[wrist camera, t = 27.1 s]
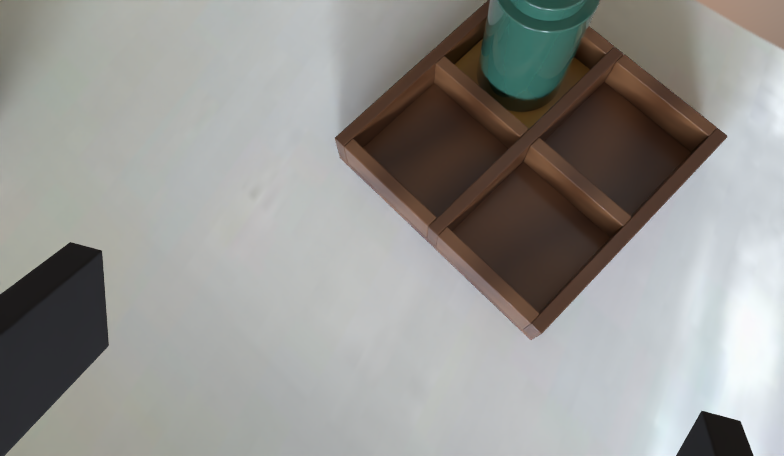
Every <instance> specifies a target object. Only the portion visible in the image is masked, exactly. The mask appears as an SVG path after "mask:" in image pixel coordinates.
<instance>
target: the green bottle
mask: <svg viewBox="0 0 784 456" xmlns="http://www.w3.org/2000/svg"><path fill="white" fill-rule="evenodd" d="M599 2H600V0H490V4H489V9H488V14H487V19H486V24H485V29H484V34H483V39H482V45H481V50H480V55H479V60H478V65H477V80H478V84H479V86H480V87H481V88H482V89H483V90H485V91H486V92H487V93H488V94H489V95H490V96H492V97H493V98H494V99H495V100H496V101H497V102H499V103H500V104H501V105H502V106H503V107H504V108H506V109H507V110H509V111H514V112H528V111H533V110H536V109H539V108H541V107H543V106H545V105H546V104H548V103H549V102H550V101H551V100H552V99H553V98H554V97H555V96H556V94H557V93H558V91H559V89H560V87H561V85H562V83H563V80H564V78H565V76H566V74H567V72H568V70H569V67H570V65H571V63H572V61H573V59H574V57H575V54H576V52H577V50H578V48H579V46H580V44H581V41H582V39H583V37H584V35H585V33H586V31H587V28H588V26H589V24H590V22H591V20H592V18H593V15H594V13H595V11H596V9H597V7H598V5H599Z"/></svg>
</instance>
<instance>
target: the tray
mask: <svg viewBox="0 0 784 456" xmlns="http://www.w3.org/2000/svg"><path fill="white" fill-rule="evenodd" d="M489 4H490V0H488V1H487V2H486V3H484V4H483V5H482V6H481V7H480V8H479V9H478V10H477V11H476V12H474V13H473V14H472V15H471V16H470V17H469V18H468V19H467V20H466V21H464V22H463V23H462V24H461V25H460V26H459V27H458V28H457V29H456V30H454V31H453V32H452V33H451V34H450V35H449V36H448V37H447V38H446V39H444V40H443V41H442V42H441V43H440V44H439V45H438V46H437V47H436V48H434V49H433V50H432V51H431V52H430V53H429V54H428V55H427V56H425V57H424V58H423V59H422V60H421V61H420V62H419V63H418V64H417V65H415V66H414V67H413V68H412V69H411V70H410V71H409V72H408V73H407V74H405V75H404V76H403V77H402V78H401V79H400V80H399V81H398V82H397V83H395V84H394V85H393V86H392V87H391V88H390V89H389V90H388V91H387V92H385V93H384V94H383V95H382V96H381V97H380V98H379V99H378V100H376V101H375V102H374V103H373V104H372V105H371V106H370V107H369V108H368V109H366V110H365V111H364V112H363V113H362V114H361V115H360V116H359V117H358V118H356V119H355V120H354V121H353V122H352V123H351V124H350V125H349V126H348V127H346V128H345V129H344V130H343V131H342V132H341V133H340V134H339V135H338V136H336V137H335V141H336V144H337V148H338V152H339V155H340V158H341V159H342V160H343V161H344V162H345V163H346V164H347V165H348V166H349V167H350V168H351V169H352V170H353V171H354V172H355V173H357V174H358V175H359V176H360V177H361V178H362V179H363V180H364V181H365V182H366V183H367V184H368V185H369V186H370V187H371V188H372V189H373V190H374V191H375V192H376V193H377V194H378V195H380V196H381V197H382V198H383V199H384V200H385V201H386V202H387V203H388V204H389V205H390V206H391V207H392V208H393V209H394V210H395V211H396V212H397V213H398V214H399V215H400V216H402V217H403V218H404V219H405V220H406V221H407V222H408V223H409V224H410V225H411V226H412V227H413V228H414V229H415V230H416V231H417V232H418V233H419V234H420V235H421V236H422V237H423V238H425V239H426V240H427V241H428V242H429V243H430V244H431V245H432V246H433V247H434V248H435V249H436V250H437V251H438V252H439V253H440V254H441V255H442V256H443V257H444V258H445V259H447V260H448V261H449V262H450V263H451V264H452V265H453V266H454V267H455V268H456V269H457V270H458V271H459V272H460V273H461V274H462V275H463V276H464V277H465V278H466V279H467V280H468V281H470V282H471V283H472V284H473V285H474V286H475V287H476V288H477V289H478V290H479V291H480V292H481V293H482V294H483V295H484V296H485V297H486V298H487V299H488V300H489V301H490V302H492V303H493V304H494V305H495V306H496V307H497V308H498V309H499V310H500V311H501V312H502V313H503V314H504V315H505V316H506V317H507V318H508V319H509V320H510V321H511V322H512V323H513V324H515V325H516V326H517V327H518V328H519V329H520V330H521V331H522V332H523V333H524V334H525V335H526V336H527V337H528V338H529V339H530V340H532V339H534V338H535V337H537V336H539V335H540V334H542V333H543V332H544V331H545V330H546V329H547V328H548V327H549V326H550V325H551V323H552V322H553V321H554V320H555V319H556V318H557V317H558V316H559V315H560V314H561V313H562V312H563V311H564V310H565V309H566V308H567V306H568V305H569V304H570V303H571V302H572V301H573V300H574V299H575V298H576V297H577V296H578V295H579V294H580V293H581V292H582V291H583V290H584V288H585V287H586V286H587V285H588V284H589V283H590V282H591V281H592V280H593V279H594V278H595V277H596V276H597V275H598V274H599V273H600V272H601V270H602V269H603V268H604V267H605V266H606V265H607V264H608V263H609V262H610V261H611V260H612V259H613V258H614V257H615V256H616V255H617V253H618V252H619V251H620V250H621V249H622V248H623V247H624V246H625V245H626V244H627V243H628V242H629V241H630V240H631V239H632V238H633V237H634V235H635V234H636V233H637V232H638V231H639V230H640V229H641V228H642V227H643V226H644V225H645V224H646V223H647V222H648V221H649V220H650V219H651V217H652V216H653V215H654V214H655V213H656V212H657V211H658V210H659V209H660V208H661V207H662V206H663V205H664V204H665V203H666V202H667V200H668V199H669V198H670V197H671V196H672V195H673V194H674V193H675V192H676V191H677V190H678V189H679V188H680V187H681V186H682V185H683V184H684V182H685V181H686V180H687V179H688V178H689V177H690V176H691V175H692V174H693V173H694V172H695V171H696V170H697V169H698V168H699V167H700V166H701V164H702V163H703V162H704V161H705V160H706V159H707V158H708V157H709V156H710V155H711V154H712V153H713V152H714V151H715V150H716V149H717V147H718V146H719V145H720V144H721V143H722V142H723V141H724V140H725V139H726V138H727V135H726V134H725V133H723V132H722V131H721V130H719V129H718V128H717V127H716V126H714V125H713V124H712V123H711V122H709V121H708V120H707V119H706V118H704V117H703V116H702V115H701V114H699V113H698V112H697V111H696V110H694V109H693V108H692V107H690V106H689V105H688V104H687V103H685V102H684V101H683V100H682V99H680V98H679V97H678V96H677V95H675V94H674V93H673V92H671V91H670V90H669V89H668V88H666V87H665V86H664V85H663V84H661V83H660V82H659V81H658V80H656V79H655V78H654V77H653V76H651V75H650V74H649V73H647V72H646V71H645V70H644V69H642V68H641V67H640V66H639V65H637V64H636V63H635V62H634V61H632V60H631V59H630V58H628V57H627V56H626V55H623V53H622V52H621V51H619V50H618V49H617V48H615V47H614V46H613V45H612V44H611V43H610V42H608V41H607V40H606V39H605V38H603V37H602V36H601V35H600V34H598V33H597V32H596V31H594V30H593V29H592V28H591V27H589V26H588V28H587V31H586V33H585V35H584V37H583V39H582V41H581V44H580V46H579V48H578V50H577V52H576V54H575V57H574V59H573V61H572V63H571V65H570V67H569V70H568V72H567V74H566V76H565V78H564V80H563V83H562V85H561V87H560V89H559V91H558V93H557V94H556V96H555V97H554V98H553V99H552V100H551V101H550V102H549V103H548V104H546V105H545V106H543V107H541V108H539V109H536V110H533V111H528V112H514V111H509V110H507V109H506V108H504V107H503V106H502V105H501V104H500V103H499V102H497V101H496V100H495V99H494V98H493V97H492V96H490V95H489V94H488V93H487V92H486V91H485V90H483V89H482V88H481V87H480V86H479V84H478V80H477V65H478V60H479V55H480V50H481V45H482V39H483V34H484V29H485V24H486V19H487V14H488V9H489Z"/></svg>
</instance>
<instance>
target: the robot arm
mask: <svg viewBox="0 0 784 456" xmlns="http://www.w3.org/2000/svg"><path fill="white" fill-rule="evenodd" d="M108 346H109V343H108V329H107V315H106V301H105V286H104V272H103V258H102V251H101V250H97V249H94V248H90V247H86V246H82V245H79V244H75V243H71V242H70V243H69V244H67V245H66V246H65V247H63V248H62V249H61V250H59V251H58V252H57V253H55V254H54V255H53V256H51V257H50V258H49V259H47V260H46V261H45V262H43V263H42V264H41V265H39V266H38V267H36V268H35V269H34V270H32V271H31V272H30V273H28V274H27V275H26V276H24V277H23V278H22V279H20V280H19V281H18V282H16V283H15V284H14V285H12V286H11V287H10V288H8V289H7V290H6V291H4V292H3V293H2V294H0V456H5V455H6V453H7V452H8V451H9V450H10V449H11V448H12V447H13V446H14V445H15V444H16V443H17V442H18V441H19V440H20V439H21V438H22V437H23V436H24V434H25V433H26V432H27V431H28V430H29V429H30V428H31V427H32V426H33V425H34V424H35V423H36V422H37V421H38V420H39V419H40V418H41V417H42V416H43V414H44V413H45V412H46V411H47V410H48V409H49V408H50V407H51V406H52V405H53V404H54V403H55V402H56V401H57V400H58V399H59V398H60V397H61V395H62V394H63V393H64V392H65V391H66V390H67V389H68V388H69V387H70V386H71V385H72V384H73V383H74V382H75V381H76V380H77V379H78V378H79V376H80V375H81V374H82V373H83V372H84V371H85V370H86V369H87V368H88V367H89V366H90V365H91V364H92V363H93V362H94V361H95V360H96V359H97V357H98V356H99V355H100V354H101V353H102V352H103V351H104V350H105V349H106V348H107V347H108ZM676 456H753V453H752V450H751V448H750V445H749V443H748V440H747V437H746V435H745V432H744V429H743V427H742V424H741V421H738V420H734V419H731V418H727V417H723V416H719V415H716V414H712V413H708V412H704V411H701V413H700V415H699V416H698V418H697V420H696V422H695V423H694V425H693V427H692V429H691V430H690V432H689V434H688V436H687V437H686V439H685V441H684V443H683V444H682V446H681V448H680V450H679V451H678V453H677V455H676Z"/></svg>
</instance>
